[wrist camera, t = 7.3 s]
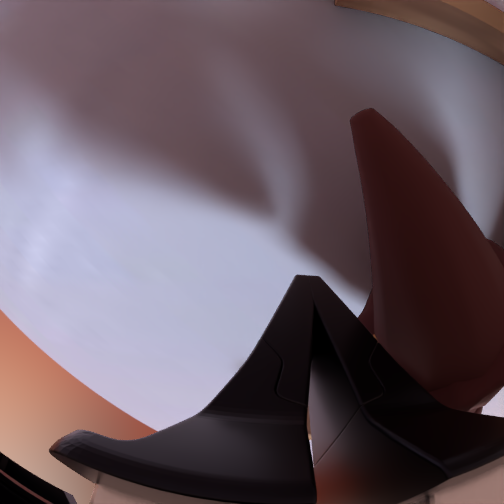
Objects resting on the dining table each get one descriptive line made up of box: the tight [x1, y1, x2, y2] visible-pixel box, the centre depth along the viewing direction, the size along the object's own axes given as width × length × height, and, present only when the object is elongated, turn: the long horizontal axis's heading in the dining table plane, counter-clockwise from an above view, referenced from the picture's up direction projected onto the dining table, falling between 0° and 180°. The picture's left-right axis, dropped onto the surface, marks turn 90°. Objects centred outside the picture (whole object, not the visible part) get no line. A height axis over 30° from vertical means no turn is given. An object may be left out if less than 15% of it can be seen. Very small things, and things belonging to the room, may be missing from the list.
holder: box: [307, 0, 504, 440], centre depth 10 cm, size 11×20×3 cm, turn 178°
